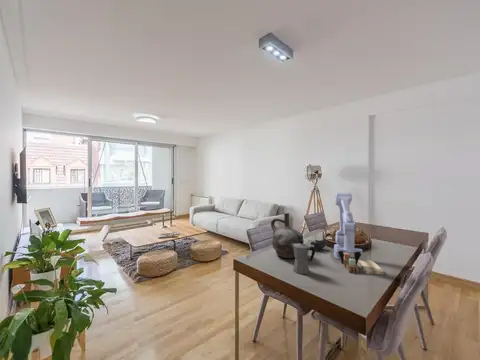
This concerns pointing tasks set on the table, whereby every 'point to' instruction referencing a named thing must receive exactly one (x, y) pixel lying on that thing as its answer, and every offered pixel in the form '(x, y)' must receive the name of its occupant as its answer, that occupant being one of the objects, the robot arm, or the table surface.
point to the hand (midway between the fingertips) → (349, 263)
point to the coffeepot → (302, 257)
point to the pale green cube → (351, 261)
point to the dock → (370, 267)
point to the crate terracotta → (346, 255)
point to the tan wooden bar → (350, 267)
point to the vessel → (285, 238)
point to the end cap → (318, 245)
